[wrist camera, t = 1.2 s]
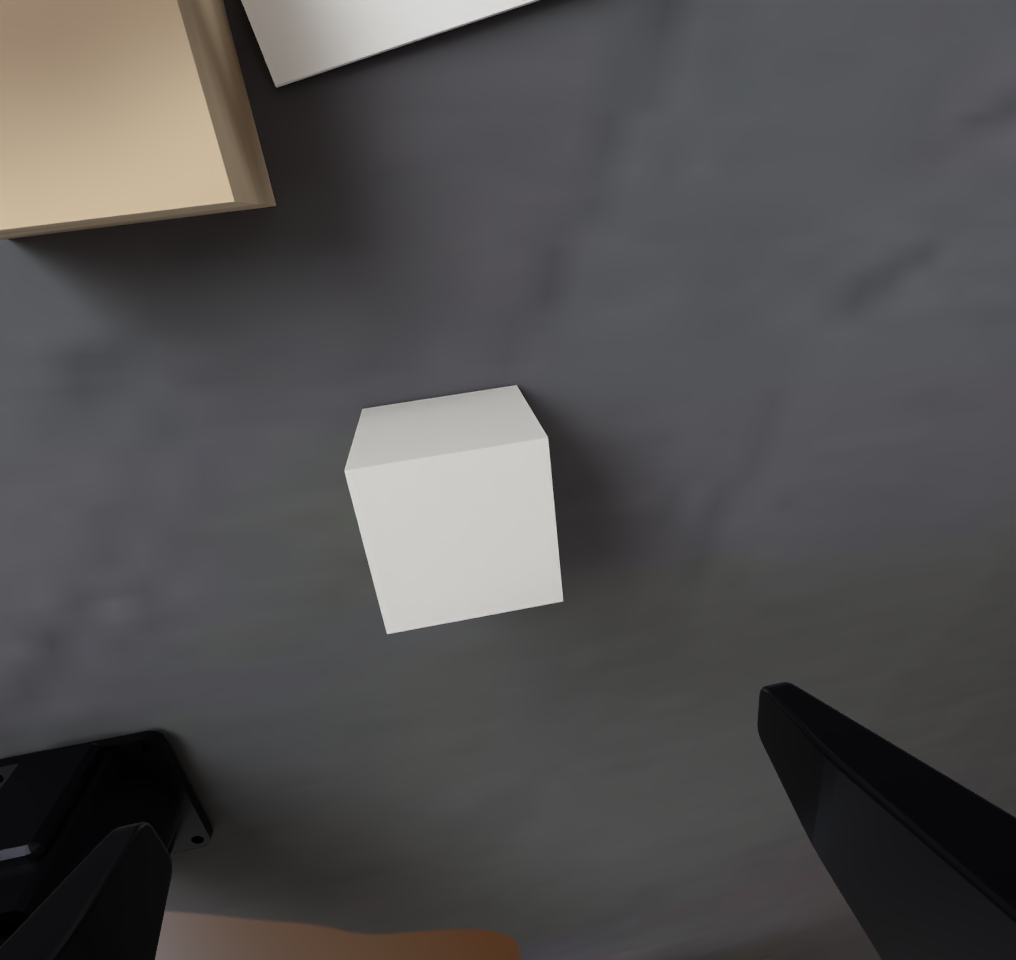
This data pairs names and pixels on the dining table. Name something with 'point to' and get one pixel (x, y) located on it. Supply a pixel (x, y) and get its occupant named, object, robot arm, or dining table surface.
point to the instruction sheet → (352, 29)
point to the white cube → (455, 507)
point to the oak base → (122, 115)
